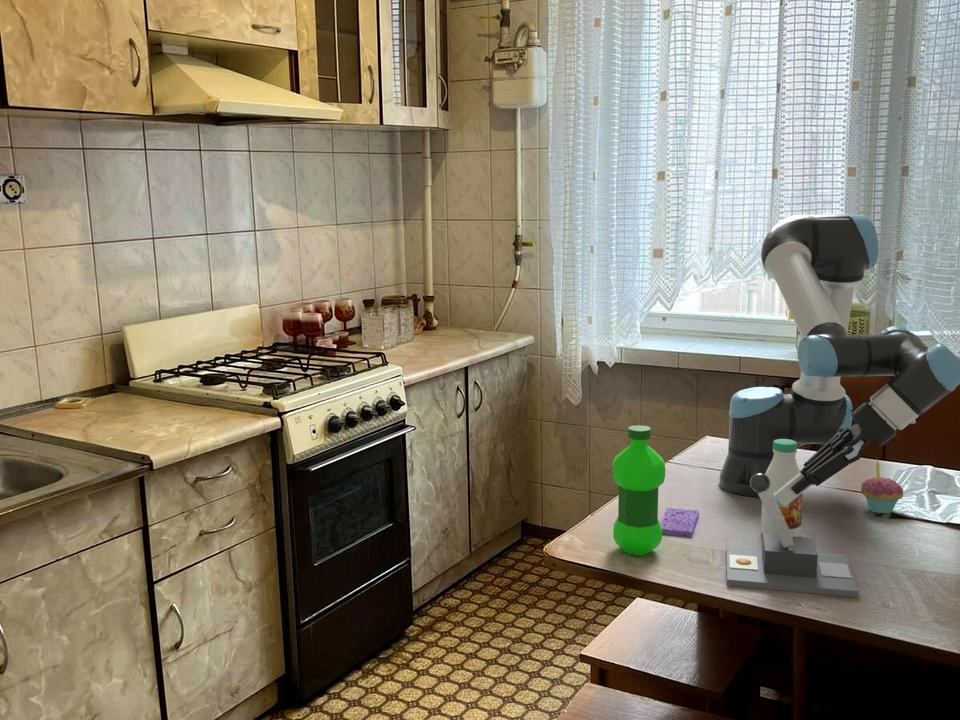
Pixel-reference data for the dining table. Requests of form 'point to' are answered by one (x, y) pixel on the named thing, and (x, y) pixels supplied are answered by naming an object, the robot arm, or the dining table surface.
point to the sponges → (679, 521)
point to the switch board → (790, 580)
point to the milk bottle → (779, 475)
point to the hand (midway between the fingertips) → (778, 500)
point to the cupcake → (881, 493)
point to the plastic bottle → (638, 494)
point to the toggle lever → (771, 507)
